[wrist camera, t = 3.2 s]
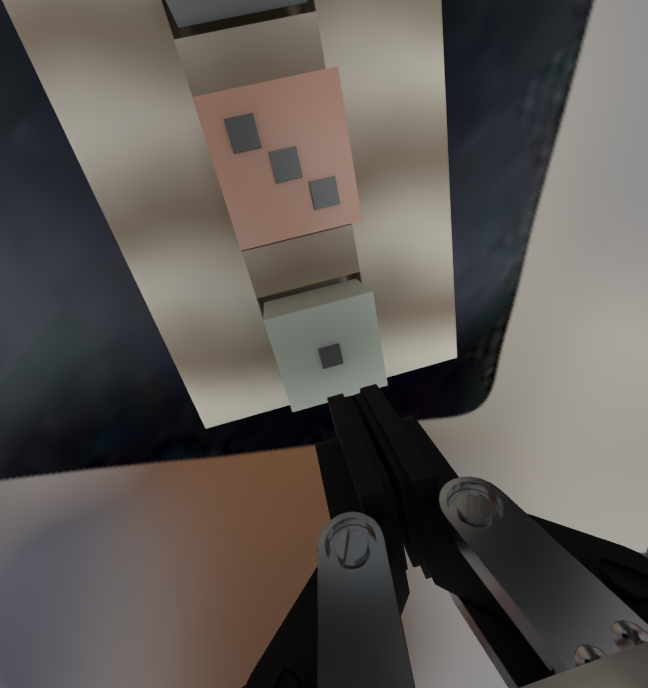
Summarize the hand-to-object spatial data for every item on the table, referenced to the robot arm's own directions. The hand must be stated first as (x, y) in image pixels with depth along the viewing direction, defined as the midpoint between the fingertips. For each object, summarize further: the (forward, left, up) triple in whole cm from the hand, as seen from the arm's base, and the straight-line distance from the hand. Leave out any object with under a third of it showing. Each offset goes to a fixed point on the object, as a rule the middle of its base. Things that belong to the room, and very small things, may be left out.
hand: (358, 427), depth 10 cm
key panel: (-8, 0, -11) cm, 14 cm away
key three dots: (-8, 0, -8) cm, 12 cm away
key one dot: (0, 0, -8) cm, 8 cm away
